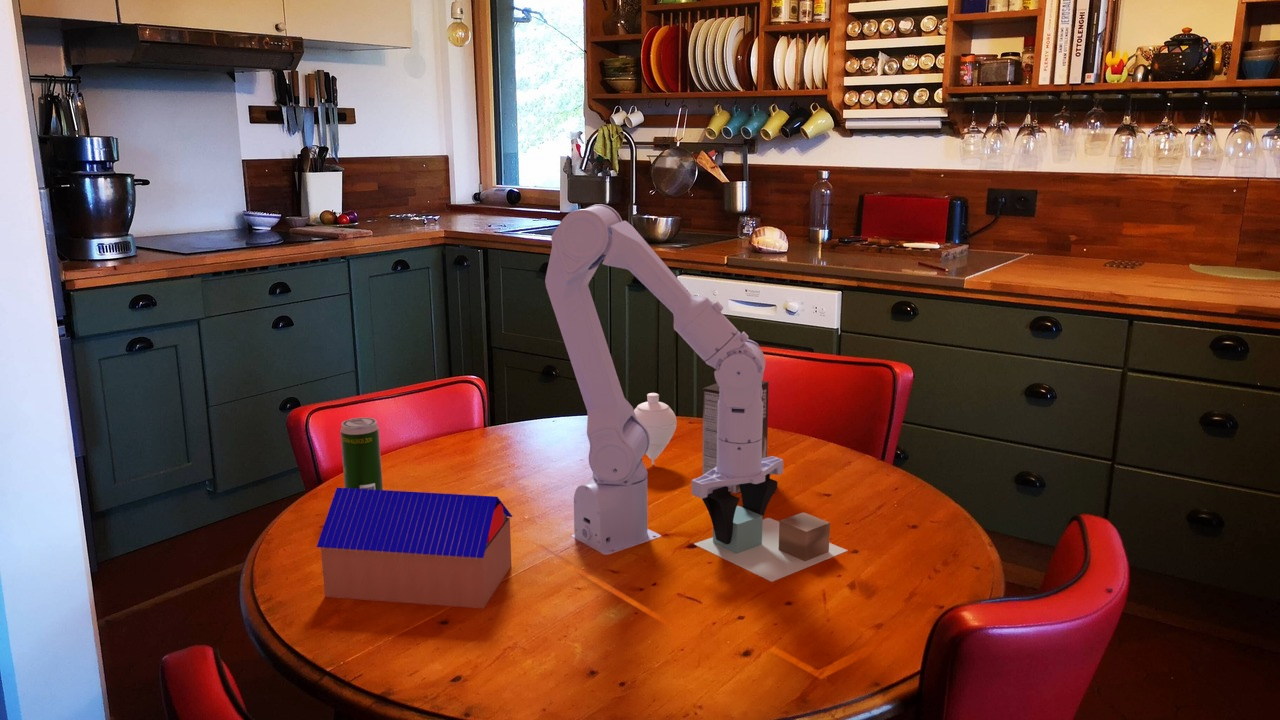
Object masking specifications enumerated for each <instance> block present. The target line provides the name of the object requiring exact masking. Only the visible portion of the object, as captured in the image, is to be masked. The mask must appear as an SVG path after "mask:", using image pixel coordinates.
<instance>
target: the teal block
mask: <svg viewBox="0 0 1280 720" xmlns="http://www.w3.org/2000/svg"><path fill="white" fill-rule="evenodd" d="M763 519H764V516H762V515H760V514H757V513H755V512H752V511H750V510H747V509H745V508H743V506H740V505H737V507H736V510H735V514H734V519H733V532H732V539H731V542H730V543H729V544H724V543H722V542H720V541H718V540H716V536H715V532H714V527H713V526H712V537H713V543H715V544H717V545H719V546H722V547H724V548H726V549H728V550H730V551H732V552H734V553H736V554H738V553H740V552H743V551H746V550H748V549H751V548H754V547H757V546H759V545H762V520H763Z"/></svg>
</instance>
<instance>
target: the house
mask: <svg viewBox="0 0 1280 720" xmlns="http://www.w3.org/2000/svg"><path fill="white" fill-rule="evenodd" d="M511 518H514V517H513V515H512V514H511V512H510V511H509V510H508V508H507V507H506V506H505V504H504V503H503V502H502V500H501V499H500V498H499V497H498V496H496V495H495V496H493V495H492V496H491V495H475V494H474V495H473V494H460V493H459V494H456V493H455V494H454V493H442V492H441V493H438V492H425V491H424V492H423V491H422V492H419V491H403V490H387V489H386V490H385V489H383V490H371V489H354V488H345V487H336V489H335V491H334V495H333V498H332V501H331V504H330V507H329V509H328V512H327V515H326V518H325V522H324V525H323V528H322V529H321V533H320V536H319V539H318V542H317V545H316V548H320V554H321V565H322V577H323V587H324V588H323V589H324V598H335V599H336V598H337V599H349V600H361V601H362V600H363V601H364V600H365V601H376V602H377V601H378V602H390V603H391V602H392V603H403V604H415V605H432V606H445V607H458V608H471V609H482V610H483V609H485V607H486V606H487V604H488V603H489V601H490V599H491V598H492V596H493V595H494V594H495V591H496V590H497V588H498V587H499V585H500V584H501V582H502V581H503V580H504V578H505V576H506V575H507V573H508V571H509V570H510V569H511V568H512V545H511V544H512V543H511Z"/></svg>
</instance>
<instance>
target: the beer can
mask: <svg viewBox="0 0 1280 720" xmlns="http://www.w3.org/2000/svg"><path fill="white" fill-rule="evenodd" d="M379 429H380V428H379V426H378V424H377V419H376V418H372V417H354V418H350V419H346V420H344V421H342V422H341V428H340V431H339V432H340V444H341V456H342V457H341V458H342V467H343V469H342V470H343V481H344V482H343V483H344V488H354V489H371V490H384V487H383V473H382V459H381V445H380V444H381V443H380V431H379Z"/></svg>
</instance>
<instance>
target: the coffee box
mask: <svg viewBox="0 0 1280 720" xmlns="http://www.w3.org/2000/svg"><path fill="white" fill-rule="evenodd" d="M769 383H770V382H769V381H767V380H762V389H763V395H762V398H761V399H762V402H763V426H762V458H767V457H768V434H769V433H768V432H769V426H768V425H769V423H768V422H769V421H768V419H769ZM719 388H720V387H719V385H718V384H717V382H716V383H714V384H710V385H707V386H706V387H702V475H704V474H705V473H707V472H709V471H710V470H712V469H713V468H715V467H716V466H717V417H718V401H719ZM728 491H731V494H738V493H741V491H740V487H739V485H736V486H733V487H729V488H728Z"/></svg>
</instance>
